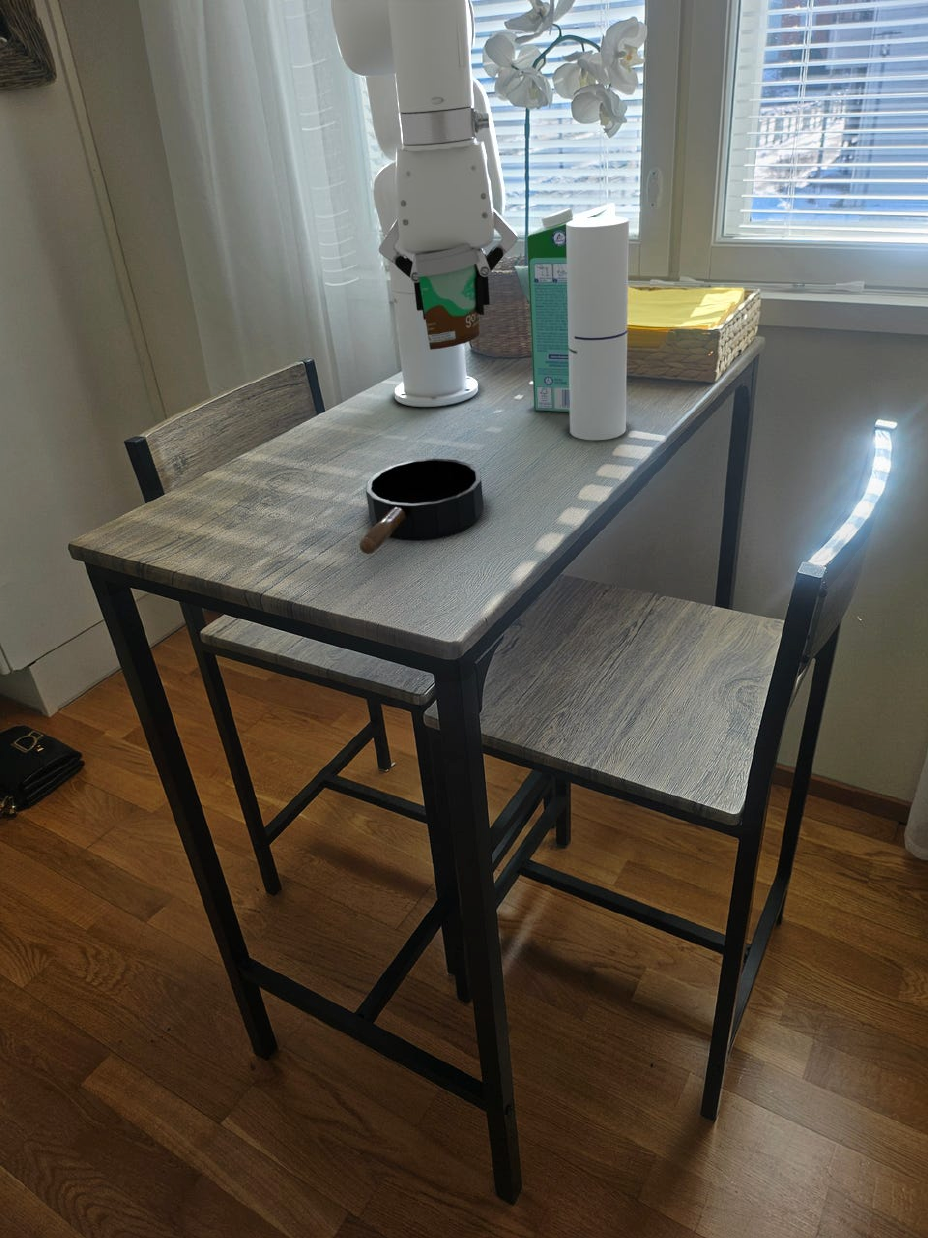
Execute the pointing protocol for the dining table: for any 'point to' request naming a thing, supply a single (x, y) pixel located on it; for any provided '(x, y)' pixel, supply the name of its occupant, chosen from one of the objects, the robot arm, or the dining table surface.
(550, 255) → the milk carton
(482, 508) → the pan
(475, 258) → the food container
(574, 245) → the cylindrical container
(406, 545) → the dining table surface
